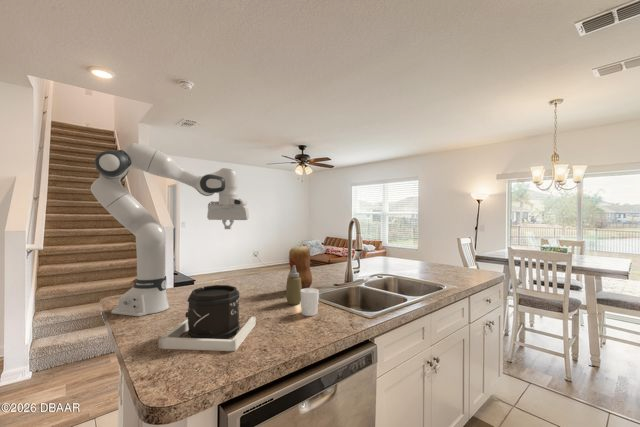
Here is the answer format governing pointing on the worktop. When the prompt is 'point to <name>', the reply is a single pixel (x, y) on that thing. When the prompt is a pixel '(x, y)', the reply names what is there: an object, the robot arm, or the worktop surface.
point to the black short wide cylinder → (213, 312)
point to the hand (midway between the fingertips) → (227, 229)
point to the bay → (174, 342)
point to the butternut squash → (301, 264)
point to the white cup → (309, 301)
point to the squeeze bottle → (293, 287)
